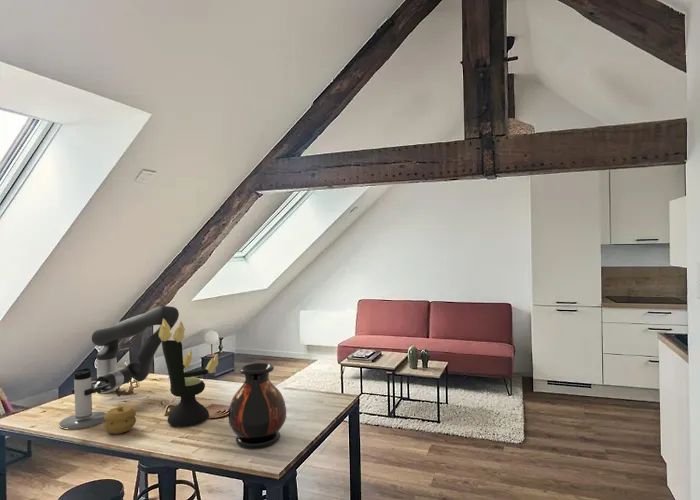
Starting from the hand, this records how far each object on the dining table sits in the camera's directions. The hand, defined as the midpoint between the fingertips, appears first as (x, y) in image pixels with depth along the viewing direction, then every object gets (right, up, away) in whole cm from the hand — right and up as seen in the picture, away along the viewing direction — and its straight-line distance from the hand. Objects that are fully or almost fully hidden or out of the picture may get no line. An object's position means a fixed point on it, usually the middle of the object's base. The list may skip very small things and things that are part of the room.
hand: (78, 392), depth 195 cm
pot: (+22, -13, -9) cm, 27 cm away
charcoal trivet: (+1, -13, +2) cm, 13 cm away
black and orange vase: (+80, -12, -21) cm, 84 cm away
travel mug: (+1, -11, +2) cm, 11 cm away
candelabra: (+46, -12, -2) cm, 47 cm away
